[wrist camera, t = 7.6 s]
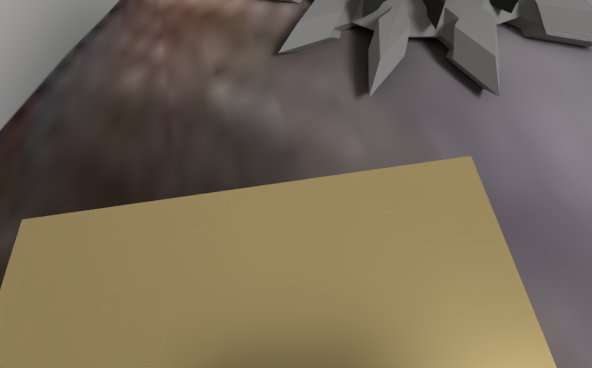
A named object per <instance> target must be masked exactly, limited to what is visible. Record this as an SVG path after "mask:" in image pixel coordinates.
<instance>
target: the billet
mask: <svg viewBox="0 0 592 368" xmlns="http://www.w3.org/2000/svg"><path fill="white" fill-rule="evenodd" d="M0 368H557V367H556V365H555V362H554V360H553V357H552V355H551V352H550V350H549V348H548V345H547V343H546V340H545V338H544V335H543V333H542V330H541V328H540V325H539V323H538V320H537V318H536V315H535V313H534V310H533V308H532V306H531V303H530V301H529V298H528V296H527V293H526V291H525V288H524V286H523V283H522V281H521V278H520V276H519V273H518V271H517V268H516V266H515V264H514V261H513V259H512V256H511V254H510V251H509V249H508V246H507V244H506V241H505V239H504V236H503V234H502V231H501V229H500V227H499V224H498V222H497V219H496V217H495V214H494V212H493V209H492V207H491V204H490V202H489V199H488V197H487V194H486V192H485V189H484V187H483V185H482V182H481V180H480V177H479V175H478V172H477V170H476V167H475V165H474V162H473V160H472V157H471V156H467V157H460V158H453V159H446V160H439V161H432V162H425V163H418V164H411V165H404V166H396V167H389V168H382V169H375V170H368V171H361V172H354V173H347V174H340V175H333V176H326V177H319V178H312V179H305V180H298V181H291V182H284V183H277V184H270V185H262V186H255V187H248V188H241V189H234V190H227V191H220V192H213V193H206V194H199V195H192V196H185V197H178V198H171V199H164V200H157V201H150V202H143V203H136V204H128V205H121V206H114V207H107V208H100V209H93V210H86V211H79V212H72V213H65V214H58V215H51V216H44V217H37V218H30V219H23V220H22V221H21V224H20V227H19V231H18V234H17V237H16V240H15V244H14V247H13V250H12V253H11V256H10V260H9V263H8V266H7V269H6V272H5V276H4V279H3V282H2V285H1V289H0Z"/></svg>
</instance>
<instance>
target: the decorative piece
mask: <svg viewBox="0 0 592 368" xmlns="http://www.w3.org/2000/svg"><path fill="white" fill-rule="evenodd" d="M277 1H285V2H293V3H300V2H301V1H303V0H277ZM503 22H507V23H509V24H511V25H513V26H515V27H517V28H520V30H521V31H522V33H523V35H524V37H530V38H536V39H542V40H548V41H554V42H560V43H566V44H573V45H579V46H592V6H591V5H590V4H589V3H588V2H586V1H585V0H315V1H314V2H313V3H312V5H311V6H310V7H309V9H308V10H307V11H306V13H305V14H304V15H303V17H302V18H301V19H300V21H299V22H298V23H297V25H296V27H295V28H294V30H293V31H292V33H291V34H290V36H289V37H288V39H287V40H286V42H285V43H284V45H283V46H282V48H281V50H280V51H279V53H292V52H299V51H302V50H305V49H308V48H312V47H315V46H318V45H322V44H325V43H328V42H331V41H335V40H338V39H340V35H341V31H344V30H347V29H350V28H353V27H356V26H361V27H364V28H367V29H369V30H372V31H375V32H374V35H373V38H372V41H371V43H370V46H369V49H368V55H369V97H370V96H371V95H372V94H373V92H374V91H375V90H376V89H377V88H378V87H379V85H380V84H381V83H382V82H383V81H384V79H385V78H386V77H387V76H388V75H389V74H390V72H391V71H392V70H393V69H394V68H395V66H396V65H397V64H398V63H399V62H400V61H401V59H402V58H403V57H404V55H405V51H406V46H407V42H408V38H437V39H438V40H439V41H440V42H442V43H443V44H444V45H445V46H446V47H447V48H448V49H449V51H448V53H447V55H446V57H445V58H447V59H448V60H449V61H450V62H452V63H453V64H454V65H455V66H456V67H458V68H459V69H460V70H461V71H463V72H464V73H465V74H466V75H467V76H469V77H470V78H471V79H472V80H474V81H475V82H476V83H477V84H478V85H480V86H481V87H482V88H483V89H485V90H487V91H489V92H491V93H493V94H495V95H497V96H499V46H498V37H497V28H496V25H497V24H500V23H503Z"/></svg>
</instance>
